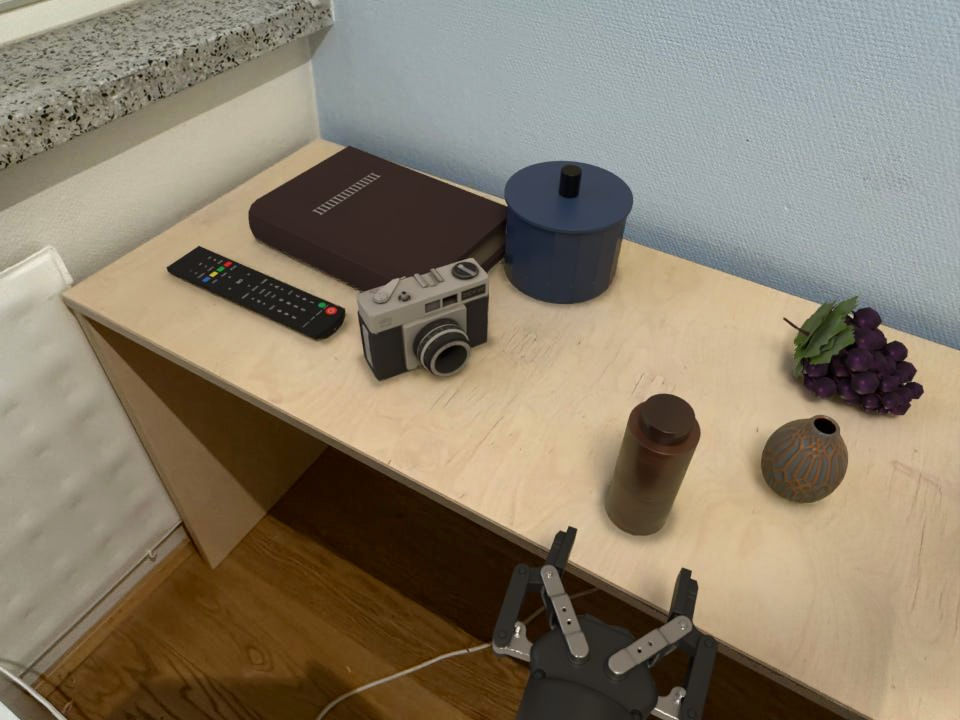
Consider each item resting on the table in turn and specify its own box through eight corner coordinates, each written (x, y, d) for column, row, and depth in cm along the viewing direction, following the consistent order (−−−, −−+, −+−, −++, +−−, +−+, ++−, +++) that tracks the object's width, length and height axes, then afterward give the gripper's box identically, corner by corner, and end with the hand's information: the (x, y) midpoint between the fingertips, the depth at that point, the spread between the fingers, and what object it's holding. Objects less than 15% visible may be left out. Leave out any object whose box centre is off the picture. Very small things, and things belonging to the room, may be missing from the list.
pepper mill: (674, 497, 62) (714, 401, 52) (656, 546, 58) (695, 452, 49) (617, 473, 64) (645, 376, 54) (596, 519, 60) (622, 424, 50)
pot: (628, 255, 88) (644, 184, 80) (590, 317, 79) (604, 245, 72) (531, 225, 92) (537, 156, 85) (485, 281, 84) (487, 209, 76)
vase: (759, 443, 66) (790, 384, 60) (832, 471, 64) (872, 412, 58) (744, 496, 62) (776, 438, 56) (822, 527, 60) (864, 470, 54)
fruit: (869, 453, 70) (743, 373, 72) (897, 381, 75) (778, 309, 77) (942, 414, 61) (795, 324, 63) (969, 336, 66) (831, 255, 68)
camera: (381, 405, 69) (371, 332, 62) (360, 349, 75) (349, 277, 68) (505, 372, 73) (509, 299, 66) (476, 322, 79) (476, 250, 72)
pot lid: (648, 188, 81) (655, 157, 78) (605, 253, 72) (612, 220, 69) (535, 157, 86) (538, 127, 83) (481, 215, 76) (482, 183, 73)
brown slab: (254, 245, 88) (244, 206, 84) (354, 182, 99) (349, 145, 95) (423, 329, 77) (421, 289, 73) (513, 248, 89) (515, 209, 84)
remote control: (201, 254, 86) (198, 245, 85) (349, 319, 78) (348, 310, 77) (169, 276, 83) (166, 267, 82) (320, 346, 75) (318, 337, 74)
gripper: (699, 828, 35) (739, 562, 45) (449, 714, 38) (540, 492, 49) (667, 853, 40) (710, 610, 51) (451, 750, 44) (532, 543, 54)
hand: (626, 552), depth 50 cm, fingers open, 8 cm apart
